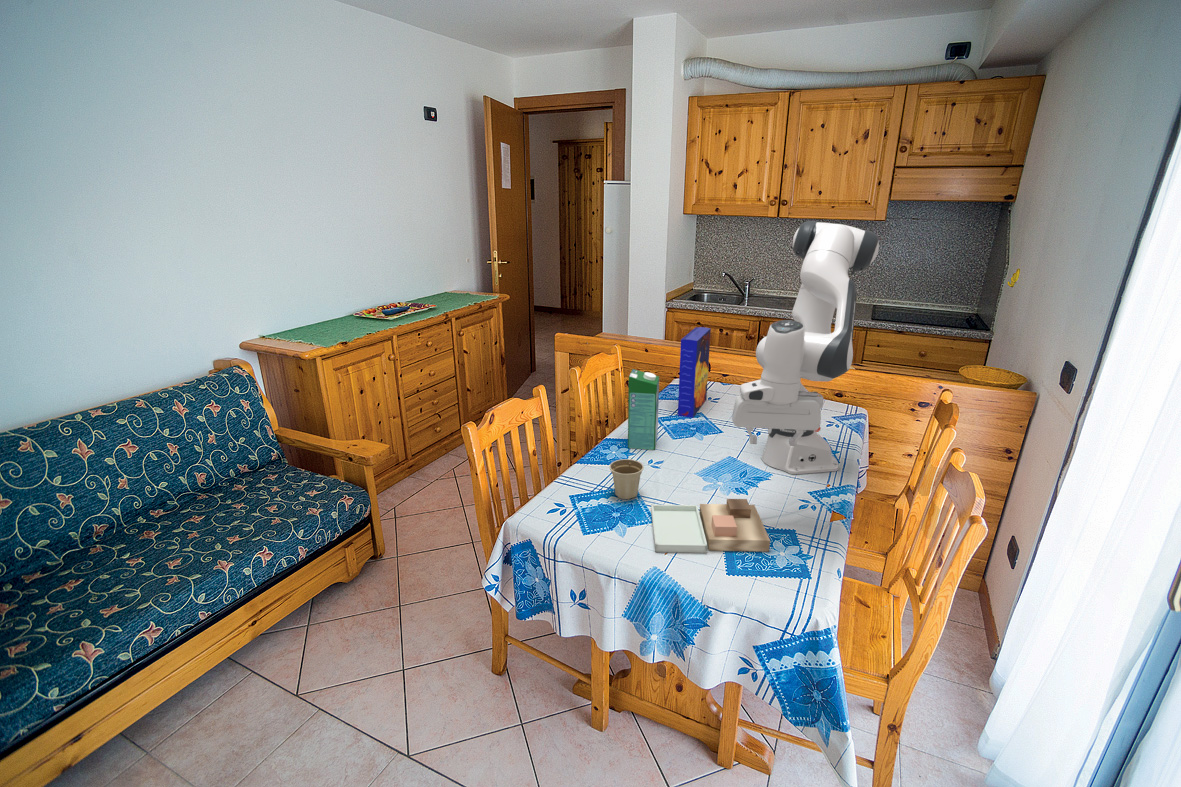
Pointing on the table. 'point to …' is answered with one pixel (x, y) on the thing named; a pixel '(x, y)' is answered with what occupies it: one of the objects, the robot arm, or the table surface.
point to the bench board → (748, 531)
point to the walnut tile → (738, 508)
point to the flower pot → (626, 477)
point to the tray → (678, 529)
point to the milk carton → (643, 410)
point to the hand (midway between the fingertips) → (772, 444)
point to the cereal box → (693, 371)
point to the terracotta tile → (724, 525)
